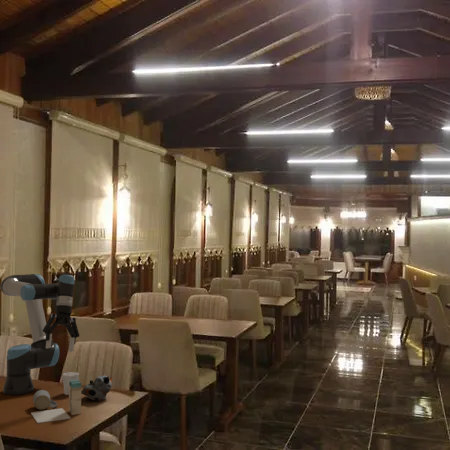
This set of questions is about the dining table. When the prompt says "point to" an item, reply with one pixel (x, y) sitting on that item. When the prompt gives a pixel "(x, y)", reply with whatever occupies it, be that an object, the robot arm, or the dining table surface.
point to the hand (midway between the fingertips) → (59, 349)
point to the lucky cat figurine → (98, 388)
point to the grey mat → (50, 415)
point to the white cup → (67, 378)
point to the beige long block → (75, 397)
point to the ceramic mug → (43, 400)
